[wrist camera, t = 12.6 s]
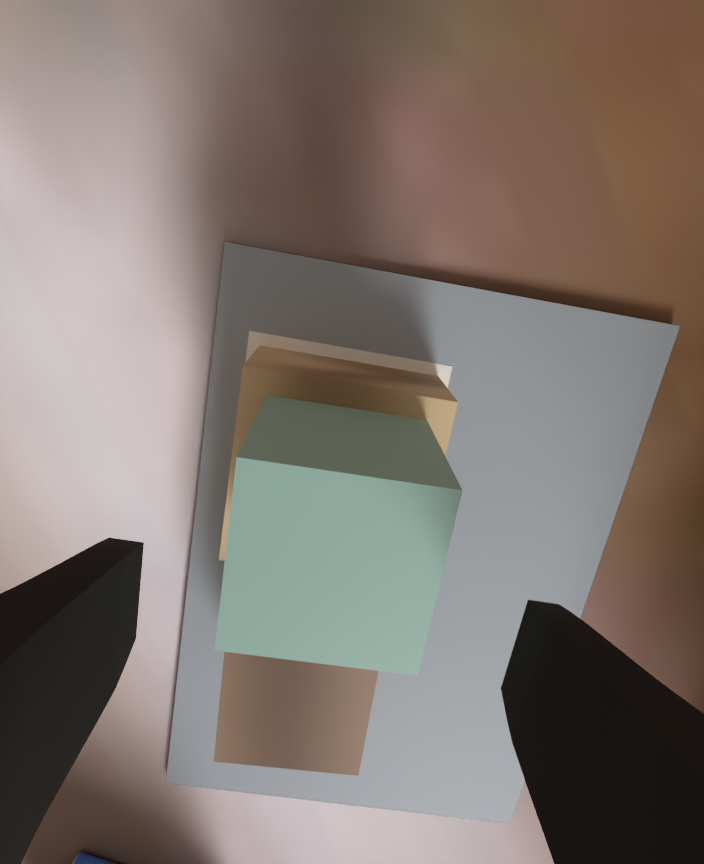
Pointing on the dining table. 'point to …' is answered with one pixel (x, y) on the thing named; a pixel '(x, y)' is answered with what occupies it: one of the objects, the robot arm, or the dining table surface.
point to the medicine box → (89, 859)
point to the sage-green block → (336, 537)
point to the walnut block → (293, 714)
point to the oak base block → (336, 395)
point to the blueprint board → (476, 517)
